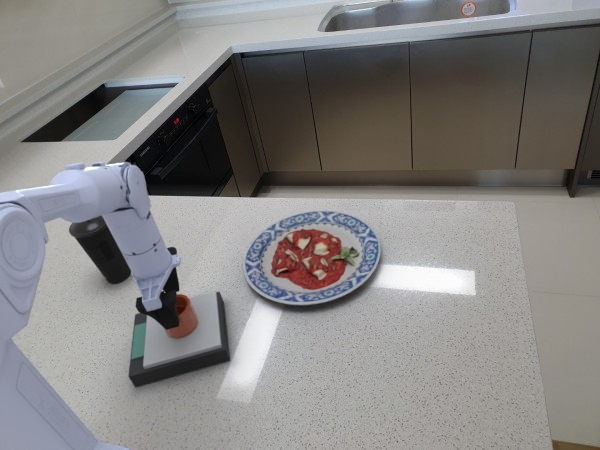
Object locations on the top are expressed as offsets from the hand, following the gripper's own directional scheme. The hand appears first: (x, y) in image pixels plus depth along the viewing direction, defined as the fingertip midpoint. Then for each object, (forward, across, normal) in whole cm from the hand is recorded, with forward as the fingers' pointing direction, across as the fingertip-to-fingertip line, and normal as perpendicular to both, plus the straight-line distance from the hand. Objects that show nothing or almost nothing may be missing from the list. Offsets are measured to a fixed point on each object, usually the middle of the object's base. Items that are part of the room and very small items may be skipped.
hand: (173, 308), depth 72 cm
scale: (+8, 0, 0) cm, 8 cm away
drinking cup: (+8, +22, +14) cm, 27 cm away
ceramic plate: (+8, +11, -24) cm, 28 cm away
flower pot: (+4, 0, 0) cm, 4 cm away
